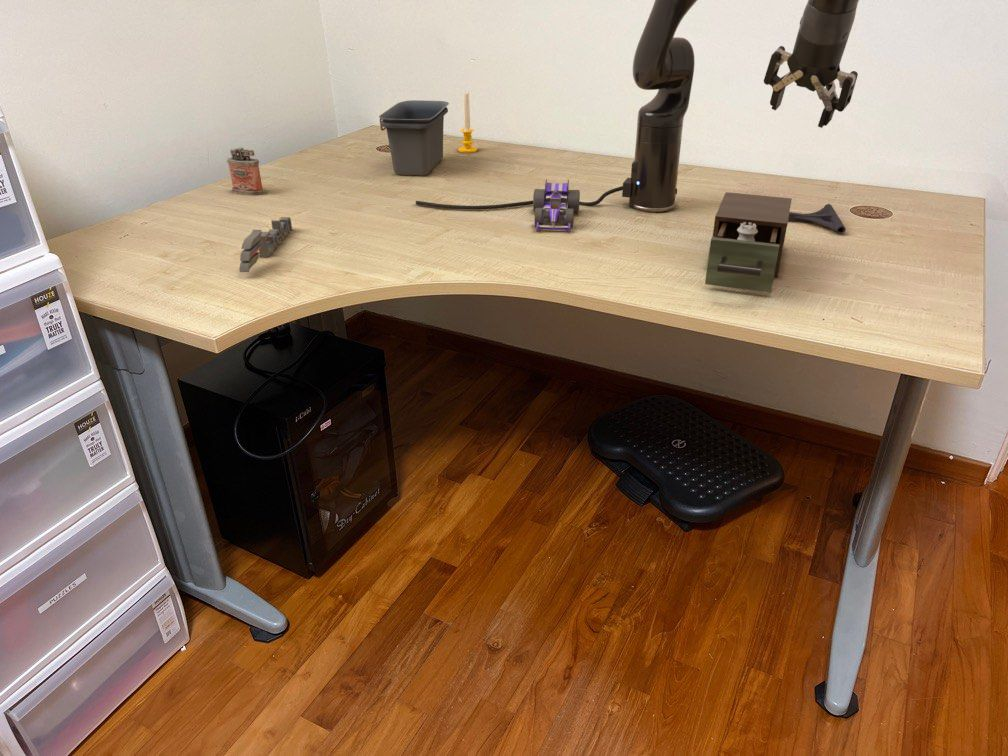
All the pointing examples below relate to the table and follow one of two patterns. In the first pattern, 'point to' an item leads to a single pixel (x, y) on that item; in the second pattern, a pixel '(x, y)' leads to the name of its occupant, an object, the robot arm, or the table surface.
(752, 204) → the cabinet
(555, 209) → the toy race car
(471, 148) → the candle
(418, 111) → the storage bin
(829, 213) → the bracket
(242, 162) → the lighter
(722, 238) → the drawer
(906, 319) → the table surface
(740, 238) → the rook chess piece
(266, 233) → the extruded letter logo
